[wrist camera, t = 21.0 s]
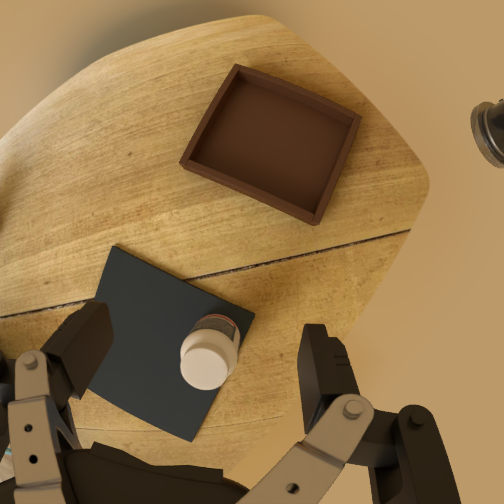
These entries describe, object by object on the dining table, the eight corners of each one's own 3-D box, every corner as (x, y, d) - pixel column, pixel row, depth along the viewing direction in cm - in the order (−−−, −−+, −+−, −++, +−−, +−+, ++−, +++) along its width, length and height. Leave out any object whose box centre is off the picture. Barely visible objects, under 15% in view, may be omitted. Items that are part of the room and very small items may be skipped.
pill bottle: (186, 320, 31) (162, 347, 22) (231, 307, 31) (222, 331, 22) (202, 363, 31) (186, 401, 22) (246, 351, 31) (244, 388, 22)
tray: (355, 124, 31) (362, 116, 28) (313, 226, 31) (319, 225, 29) (236, 74, 31) (235, 63, 28) (183, 168, 31) (178, 163, 28)
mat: (255, 313, 31) (255, 314, 31) (192, 440, 32) (191, 442, 31) (114, 245, 31) (112, 245, 31) (76, 378, 32) (74, 379, 31)
